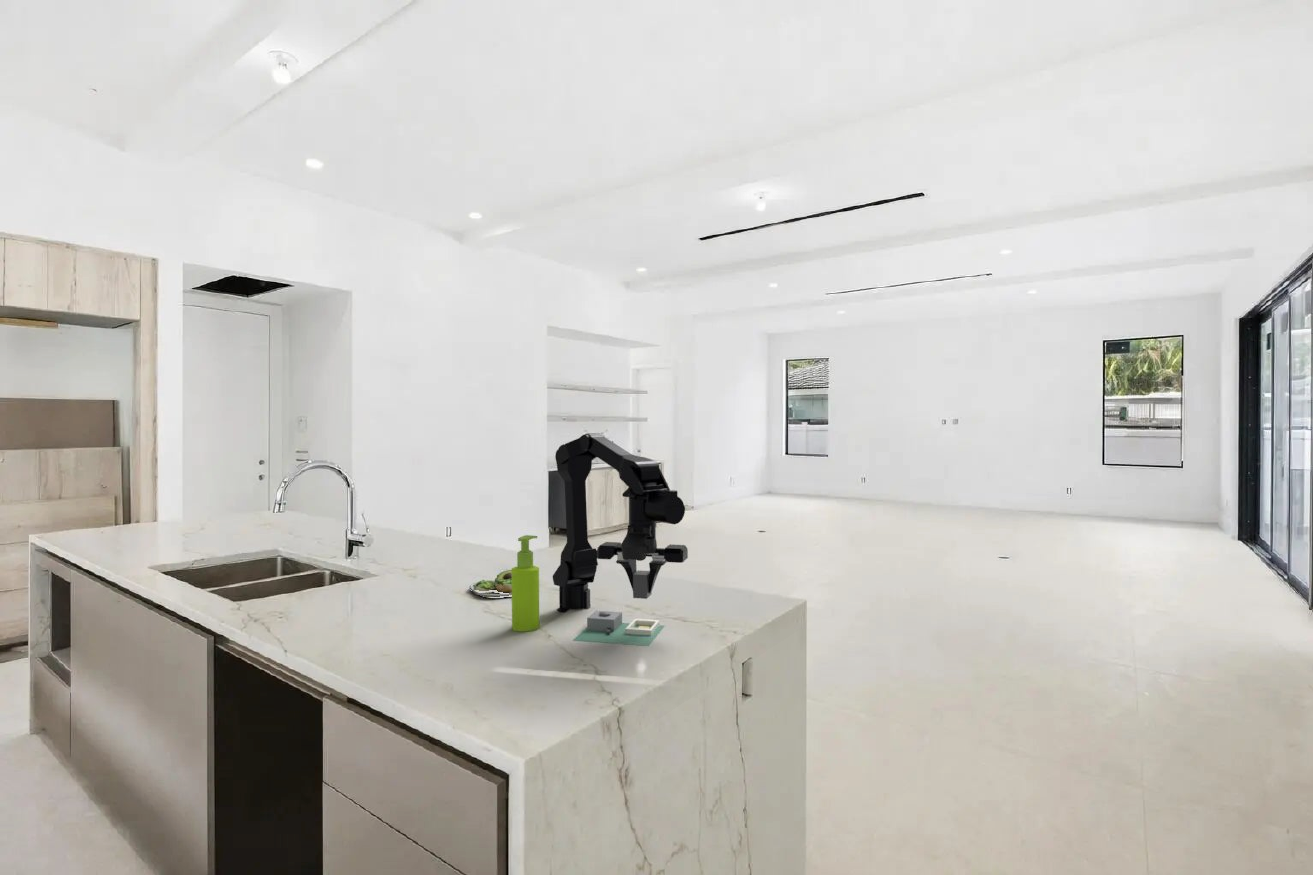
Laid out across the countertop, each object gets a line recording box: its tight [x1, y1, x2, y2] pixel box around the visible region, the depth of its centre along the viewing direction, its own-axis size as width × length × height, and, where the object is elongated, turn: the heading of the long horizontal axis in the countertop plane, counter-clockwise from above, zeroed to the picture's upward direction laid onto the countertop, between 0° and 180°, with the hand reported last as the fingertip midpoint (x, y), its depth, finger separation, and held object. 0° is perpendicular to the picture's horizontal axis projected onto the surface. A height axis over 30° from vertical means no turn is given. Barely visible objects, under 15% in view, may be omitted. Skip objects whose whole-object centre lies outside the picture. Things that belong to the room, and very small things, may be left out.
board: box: [572, 610, 665, 647], centre depth 146 cm, size 16×14×4 cm
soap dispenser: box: [511, 534, 540, 632], centre depth 153 cm, size 6×7×20 cm
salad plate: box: [469, 569, 512, 597], centre depth 186 cm, size 19×18×5 cm
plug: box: [632, 570, 653, 600], centre depth 149 cm, size 3×5×5 cm, turn 166°
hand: (642, 592), depth 148 cm, fingers closed on plug, 3 cm apart
